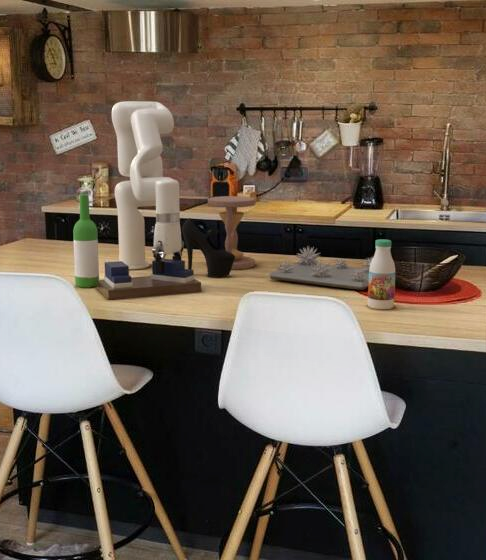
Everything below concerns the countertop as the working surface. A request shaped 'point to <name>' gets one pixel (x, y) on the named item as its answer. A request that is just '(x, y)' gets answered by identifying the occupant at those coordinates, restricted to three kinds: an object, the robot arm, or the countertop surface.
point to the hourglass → (233, 226)
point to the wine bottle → (85, 247)
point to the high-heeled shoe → (207, 250)
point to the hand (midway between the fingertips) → (169, 270)
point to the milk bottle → (381, 277)
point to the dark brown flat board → (147, 288)
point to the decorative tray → (323, 272)
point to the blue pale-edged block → (173, 272)
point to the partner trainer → (117, 275)
